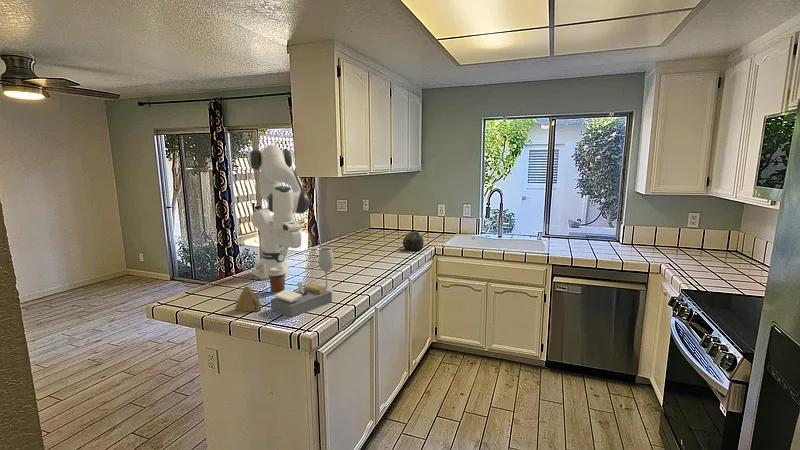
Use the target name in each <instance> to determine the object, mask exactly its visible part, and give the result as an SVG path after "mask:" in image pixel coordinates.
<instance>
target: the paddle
mask: <svg viewBox="0 0 800 450" xmlns="http://www.w3.org/2000/svg"><path fill="white" fill-rule="evenodd" d="M296 284H297V289H298V290H299V292H300V293H301V294H302V295H304V294H305V292H304V290H303V288H304V285H303V282H302V281H299V282H297V283H296Z"/></svg>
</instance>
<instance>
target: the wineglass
mask: <svg viewBox="0 0 800 450" xmlns="http://www.w3.org/2000/svg"><path fill="white" fill-rule="evenodd" d="M317 261H318V267H319V269H321V270H322V271H323V272H324V273H325V286H324V288H326V290H327V291H331V292H333V291H334V290H335V288H334V287H331V286H328V272H330V270H331V269H333V267H334V263H335V262H334V261H335V260H334V254H333V249H332V248H330V247H325V248H320V249H319V252H318V260H317Z"/></svg>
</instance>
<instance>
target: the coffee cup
mask: <svg viewBox="0 0 800 450" xmlns="http://www.w3.org/2000/svg"><path fill="white" fill-rule="evenodd" d="M267 274H268V275H269V278H268V279H269V286H270V292H271V294H274V295H275V294H277V293H279V292H281V291H283V290H285V288H286V286H285V285H286V276H285V274H286V270H284V268H283V267H273V268H270V271H269V272H268V273H267Z"/></svg>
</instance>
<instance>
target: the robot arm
mask: <svg viewBox="0 0 800 450" xmlns="http://www.w3.org/2000/svg"><path fill="white" fill-rule="evenodd" d="M293 157H294V156H293V155H292V152H291V151H290V150H287V149H284V148H283V149H281V148H280V147H279V146H278V145H274V144H273V145H272V144H270V145H267V146H265V147H264V149H254V150H251V151H250V152H249V154H248V164H249V165H250V167H251V169H253V170H255V171H260V175H259V180H260V181H259V184H260V197H261V198H262V199H263V200H264V201H265V202H266V203H267V207H266V208H260V209H257V210H255V211H254V212H252V215H251V220H250V221H251V224H252V225H253V227H255V228H256V229H258V231H259V232H260V234H261V237H262V241H263V251H261V255H262V257H261V258H260V259H259V260H258V261H257V262H256V263H255V268H254V270H253V271H251V272H250V273H251V275H253V276H255V277H256V278H257V279H261V280H266V279H269V275H268V274H267V273H268V272H269V271H270V268H273V267H283V268H284V270H286V274H285V277H286V276H288V275H289V274H290V269H289V267H288V260H287V258H286V255H287V254H288V251H289V248H291V249H299V248H300V247H301V246H302V233H301V231H300V230H302V225H301V224H300V223H299V222H297V221H296V220H295V218H294V214H299V215H301V214H305V213H306V212H307V211H308V210H309V208H310V199H309V196H308V194H307V193H306V191H305V190H304V187H303V185H302V184H301V180H300V179H299V177H298V174H297V173H296V171H295V170H294V169H292V168H291V167H292V166H293V161H294V160H293ZM282 183H283V184H287V185H288V186H285V185H282Z"/></svg>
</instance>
